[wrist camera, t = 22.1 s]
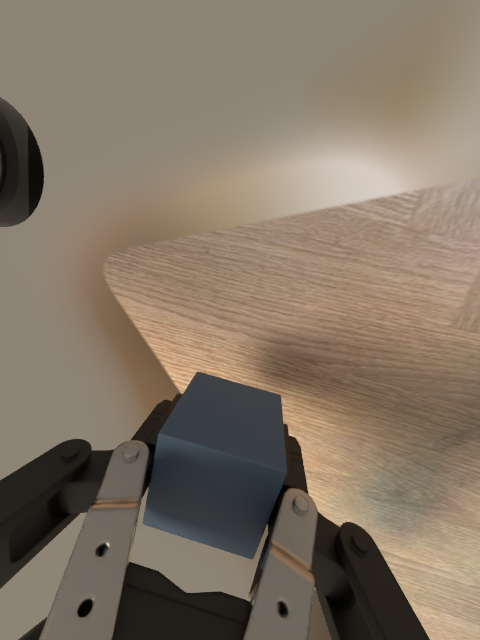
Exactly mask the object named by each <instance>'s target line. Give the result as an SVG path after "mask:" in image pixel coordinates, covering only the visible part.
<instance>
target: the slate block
mask: <svg viewBox="0 0 480 640" xmlns="http://www.w3.org/2000/svg"><path fill="white" fill-rule="evenodd" d="M286 475H287V462H286V450H285V438H284V426H283V415H282V403H281V395H278V394H275V393H271V392H268V391H264V390H261V389H257V388H254V387H250V386H247V385H243V384H240V383H236V382H233V381H229V380H226V379H222V378H219V377H215V376H212V375H208V374H205V373H201V372H197V373H196V374H195V376H194V377H193V379H192V381H191V382H190V384H189V385H188V387H187V389H186V390H185V392H184V393H183V395H182V397H181V398H180V400H179V401H178V403H177V405H176V406H175V408H174V409H173V411H172V413H171V414H170V416H169V417H168V419H167V421H166V422H165V424H164V425H163V427H162V429H161V430H160V432H159V433H158V438H157V444H156V450H155V455H154V461H153V467H152V473H151V478H150V484H149V490H148V496H147V501H146V507H145V512H144V518H143V524H144V525H147V526H150V527H153V528H156V529H159V530H162V531H165V532H168V533H171V534H175V535H178V536H181V537H184V538H187V539H190V540H194V541H196V542H199V543H203V544H206V545H209V546H212V547H215V548H218V549H221V550H224V551H227V552H230V553H234V554H237V555H240V556H243V557H246V558H249V559H253V558H254V556H255V553H256V551H257V548H258V546H259V543H260V541H261V538H262V535H263V533H264V530H265V528H266V525H267V523H268V520H269V518H270V515H271V513H272V510H273V508H274V505H275V503H276V500H277V498H278V495H279V493H280V490H281V488H282V485H283V482H284V480H285V477H286Z"/></svg>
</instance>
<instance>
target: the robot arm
mask: <svg viewBox="0 0 480 640" xmlns="http://www.w3.org/2000/svg"><path fill="white" fill-rule="evenodd" d="M5 173H6V161H5V153H4V149H3V145H2V142H1V139H0V192H1V189H2V187H3V184H4V180H5ZM182 395H183V394H180V393H178V394H177V395H176V397H175V398H174V399H173V401H169V400H164V401H162V402H161V403H159V404H157V406H156V407H155V408H154V410H153V411H152V413H151V414H150V415H149V416H148V418H147V419H146V420H145V422H144V423H143V424H142V426H141V427H140V428H139V430H138V431H137V432H136V434H135V435H134V436H133V438H132V439H131V440H130V441H126V442H124V443H122V444H120V445H119V446H118V447H117V448H116V449H114V450H109V451H108V450H107V451H91V445H90V444H89V442H87V441H85V440H82V439H72V440H68V441H65V442H63V443H61V444H59V445H57V446H56V447H54V448H52V449H50V450H49V451H47V452H46V453H44V454H43V455H41V456H39V457H38V458H36V459H34V460H33V461H31V462H29V463H28V464H26V465H25V466H23V467H21V468H20V469H18V470H17V471H15V472H13V473H12V474H10V475H9V476H7V477H5V478H4V479H2V480H0V588H2V587H3V586H4V585H5V584H6V583H7V582H8V581H9V580H10V579H11V578H12V577H13V576H14V575H15V574H16V573H17V572H19V571H20V569H22V568H23V567H24V566H25V565H26V564H27V563H28V562H29V561H30V560H31V559H32V558H33V557H34V556H36V554H38V553H39V552H40V551H41V550H42V549H43V548H44V547H45V546H46V545H47V544H48V543H49V542H50V541H51V540H53V539H54V538H55V537H56V536H57V535H58V534H59V533H60V532H61V531H62V530H63V529H64V528H65V527H66V526H67V525H68V524H70V523H71V522H72V521H73V520H74V519H75V518H76V517H77V516H78V515H79V514H80V513H85V512H87V514H86V517H85V520H84V522H83V525H82V528H81V530H80V533H79V535H78V538H77V541H76V544H75V546H74V549H73V551H72V554H71V557H70V559H69V562H68V565H67V567H66V570H65V572H64V575H63V578H62V580H61V583H60V586H59V588H58V591H57V594H56V596H55V599H54V602H53V604H52V607H51V610H50V612H49V615H48V617H46V618H45V619H44V620H42V621H41V622H40V623H39V624H38V625H36V626H35V627H34V628H32V629H31V630H30V631H29V632H27V633H26V634H25V635H23V636H22V637H21V638H20V639H19V640H308V639H309V630H310V621H311V611H312V601H313V593H314V587H315V588H316V591H317V595H318V598H319V601H320V604H321V607H322V610H323V613H324V616H325V619H326V623H327V626H328V629H329V632H330V635H331V638H332V640H430V639H429V637H428V636H427V634H426V632H425V630H424V628H423V627H422V625H421V623H420V621H419V620H418V618H417V616H416V614H415V613H414V611H413V609H412V607H411V605H410V604H409V602H408V600H407V598H406V597H405V595H404V593H403V591H402V590H401V588H400V586H399V584H398V583H397V581H396V579H395V577H394V575H393V574H392V572H391V570H390V568H389V567H388V565H387V563H386V561H385V560H384V558H383V556H382V554H381V552H380V551H379V549H378V547H377V545H376V544H375V542H374V540H373V539H372V538H371V536H370V535H369V534H368V533H367V532H366V531H365V530H364V529H363V528H361V527H360V526H358V525H357V524H354V523H351V522H345V523H343V524H342V525H341V527H339V526H337V525H336V524H334V523H333V522H331V521H330V520H328V519H326V518H325V517H324V516H322V515H321V514H320V513H319V512H318V510H317V507H316V505H315V503H314V501H313V500H312V498H311V497H310V496H309V494H308V489H307V483H306V477H305V471H304V465H303V459H302V453H301V447H300V445H299V443H298V442H297V440H296V438H295V437H291V436H289V434H288V426H287V424H283V426H284V438H285V450H286V462H287V475H286V477H285V480H284V482H283V485H282V488H281V490H280V493H279V495H278V498H277V500H276V503H275V505H274V508H273V510H272V513H271V515H270V518H269V520H268V523H267V524H268V536H267V538H266V540H265V544H264V547H263V550H262V553H261V556H260V559H259V563H258V566H257V569H256V572H255V576H254V579H253V582H252V585H251V588H250V591H249V595H248V597H247V600H244V599H241V598H238V597H235V596H232V595H229V594H226V593H223V592H203V593H186V592H184V591H183V590H181V589H180V588H179V587H178V586H176V585H175V584H174V583H173V582H171V581H170V580H169V579H168V578H166V577H165V576H164V575H162V574H161V573H160V572H159V571H156V570H153V569H150V568H146V567H144V566H141V565H137V564H135V563H132V562H130V557H131V552H132V547H133V541H134V536H135V531H136V526H137V521H138V515H139V510H140V505H141V500H142V497H143V496H144V494H145V492H146V490H147V488H148V487H149V484H150V478H151V473H152V467H153V461H154V455H155V450H156V444H157V438H158V433H159V432H160V430H161V429H162V427H163V425H164V424H165V422H166V421H167V419H168V417H169V416H170V414H171V413H172V411H173V409H174V408H175V406H176V405H177V403H178V401H179V400H180V398H181V397H182Z"/></svg>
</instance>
